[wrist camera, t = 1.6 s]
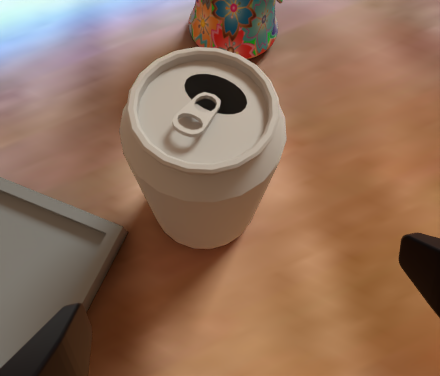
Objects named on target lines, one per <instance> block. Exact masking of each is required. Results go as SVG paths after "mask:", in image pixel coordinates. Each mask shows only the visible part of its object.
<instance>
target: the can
mask: <svg viewBox="0 0 440 376" xmlns="http://www.w3.org/2000/svg"><path fill="white" fill-rule="evenodd" d="M119 133H120V139H121V144H122V149H123V154H124V156H125V158H126V160H127V162H128V164H129V166H130V168H131V170H132V172H133V174H134V176H135V178H136V180H137V182H138V184H139V186H140V188H141V190H142V192H143V194H144V196H145V198H146V200H147V202H148V204H149V206H150V208H151V210H152V212H153V214H154V216H155V218H156V219H157V221H158V223H159V224H160V226H161V227H162V229H163V230H164V232H165V233H166V234H167V235H169V236H170V237H171V238H172V239H174V240H175V241H176V242H177V243H180V244H183V245H185V246H188V247H191V248H196V249H212V248H216V247H220V246H223V245H227V244H228V243H230V242H231V241H233V240H234V239H236V238H237V237H239V236H240V235H241V234H242V233H243V231H244V230H245V229H246V227H247V226H248V225H249V223H250V222H251V220H252V218H253V216H254V214H255V212H256V209H257V207H258V205H259V203H260V201H261V199H262V197H263V195H264V193H265V191H266V189H267V186H268V184H269V182H270V180H271V178H272V176H273V174H274V172H275V170H276V168H277V166H278V164H279V161H280V158H281V155H282V152H283V149H284V146H285V142H286V125H285V116H284V114H283V112H282V110H281V107H280V105H279V98H278V96H277V94H276V91H275V89H274V87H273V85H272V82H271V80H270V79H269V78H268V77H267V76H266V75H265V74H264V73H263V72H262V70H261V69H260V68H259V67H258V66H257V65H255V64H254V63H252V62H250V61H249V60H247V59H246V58H244V57H242V56H241V55H239V54H236V53H232V52H229V51H226V50H223V49H219V48H206V47H193V48H188V49H182V50H177V51H173V52H171V53H169V54H167V55H165V56H163V57H160V58H158V59H156V60H155V61H153V62H152V63H151V64H150V65H149V66H148V67H146V68H145V69H144V70H143V71H142V72H141V73H140V74H139V75H138V77H137V79H136V80H135V82H134V84H133V85H132V87H131V89H130V90H129V95H128V101H127V104H126V105H125V107H124V109H123V113H122V118H121V124H120V129H119Z"/></svg>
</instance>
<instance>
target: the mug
mask: <svg viewBox="0 0 440 376" xmlns="http://www.w3.org/2000/svg"><path fill="white" fill-rule="evenodd" d="M277 1H278V2H279V3H282V0H277ZM189 30H190V34H191V36H192V38H193V40H194V41H195V43H196V44H197V45H198V46H199V47H206V48H219V49H223V50H226V51H229V52H232V53H236V54H239V55H241V56H242V57H244V58H246V59H250V58H253V57H256V56H258V55H260V54H262V53H263V52H265V51H266V50H267V49H269V48H270V47H271V45H272V44H273V42H274V41H275V39H276V36H277V33H278V23H277V19H276V16H275V0H196V2H195V6H194V8H193V10H192V12H191V14H190V18H189Z"/></svg>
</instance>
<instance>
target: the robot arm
mask: <svg viewBox="0 0 440 376" xmlns="http://www.w3.org/2000/svg"><path fill="white" fill-rule="evenodd" d="M399 263H400V266H401V267H402V269H403V270H404V272H405V273H406V274H407V276H408V277H409V278H410V280H411V281H412V282H413V284H414V285H415V286H416V288H417V289H418V290H419V292H420V293H421V294H422V296H423V297H424V298H425V300H426V301H427V303H428V304H429V305H430V306H431V308H432V309H433V310H434V312H435V313H436V314H437V315H438V316H439V318H440V238H436V237H433V236H429V235H425V234H422V233H412V234H407V235H404V236H403V237H402V239H401V245H400V252H399ZM91 342H92V327H91V324H90V321H89V318H88V316H87V313H86V310H85V308H84V306H83V304H82V303H74V304H69V305H65V306H64V307H62V308H61V309H60V310H59V311H58V312H57V313H56V314H55V315H54V316H53V317H52V318H51V319H50V320H49V321H48V322H47V323H46V324H45V325H44V326H43V327H42V328H41V329H40V330H39V331H38V332H37V333H36V334H35V335H34V336H33V337H32V338H31V339H30V340H29V341H28V342H27V343H26V344H25V345H24V346H22V347H21V348H20V349H19V350H18V351H17V352H16V353H15V354H14V355H13V356H12V357H11V358H10V359H9V360H8V361H7V362H6V363H5V364H4V365H3V366H2V367H1V368H0V376H88V372H89V362H90V352H91Z"/></svg>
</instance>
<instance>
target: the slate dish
mask: <svg viewBox="0 0 440 376" xmlns="http://www.w3.org/2000/svg"><path fill="white" fill-rule="evenodd" d="M127 234H128V231H127V230H126V229H125V228H124V227H123V226H120V225H118V224H115V223H113V222H110V221H108V220H105V219H103V218H100V217H98V216H95V215H93V214H90V213H88V212H86V211H83V210H81V209H78V208H76V207H73V206H71V205H68V204H66V203H63V202H61V201H58V200H56V199H53V198H51V197H48V196H46V195H43V194H41V193H38V192H36V191H34V190H31V189H29V188H26V187H24V186H21V185H19V184H16V183H14V182H11V181H9V180H6V179H4V178H1V177H0V368H1V367H2V366H3V365H4V364H5V363H6V362H7V361H8V360H9V359H10V358H11V357H12V356H13V355H14V354H15V353H16V352H17V351H18V350H19V349H20V348H21V347H22V346H24V345H25V344H26V343H27V342H28V341H29V340H30V339H31V338H32V337H33V336H34V335H35V334H36V333H37V332H38V331H39V330H40V329H41V328H42V327H43V326H44V325H45V324H46V323H47V322H48V321H49V320H50V319H51V318H52V317H53V316H54V315H55V314H56V313H57V312H58V311H59V310H60V309H61V308H62V307H64V306H65V305H69V304H74V303H82V304H83V306H84V308H85V310H86V312H87V310H88V309H89V307H90V305H91V303H92V301H93V299H94V297H95V295H96V293H97V291H98V289H99V287H100V286H101V284H102V282H103V280H104V278H105V276H106V274H107V272H108V270H109V268H110V266H111V264H112V263H113V261H114V259H115V257H116V255H117V253H118V251H119V249H120V247H121V245H122V243H123V241H124V239H125V238H126V236H127Z"/></svg>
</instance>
